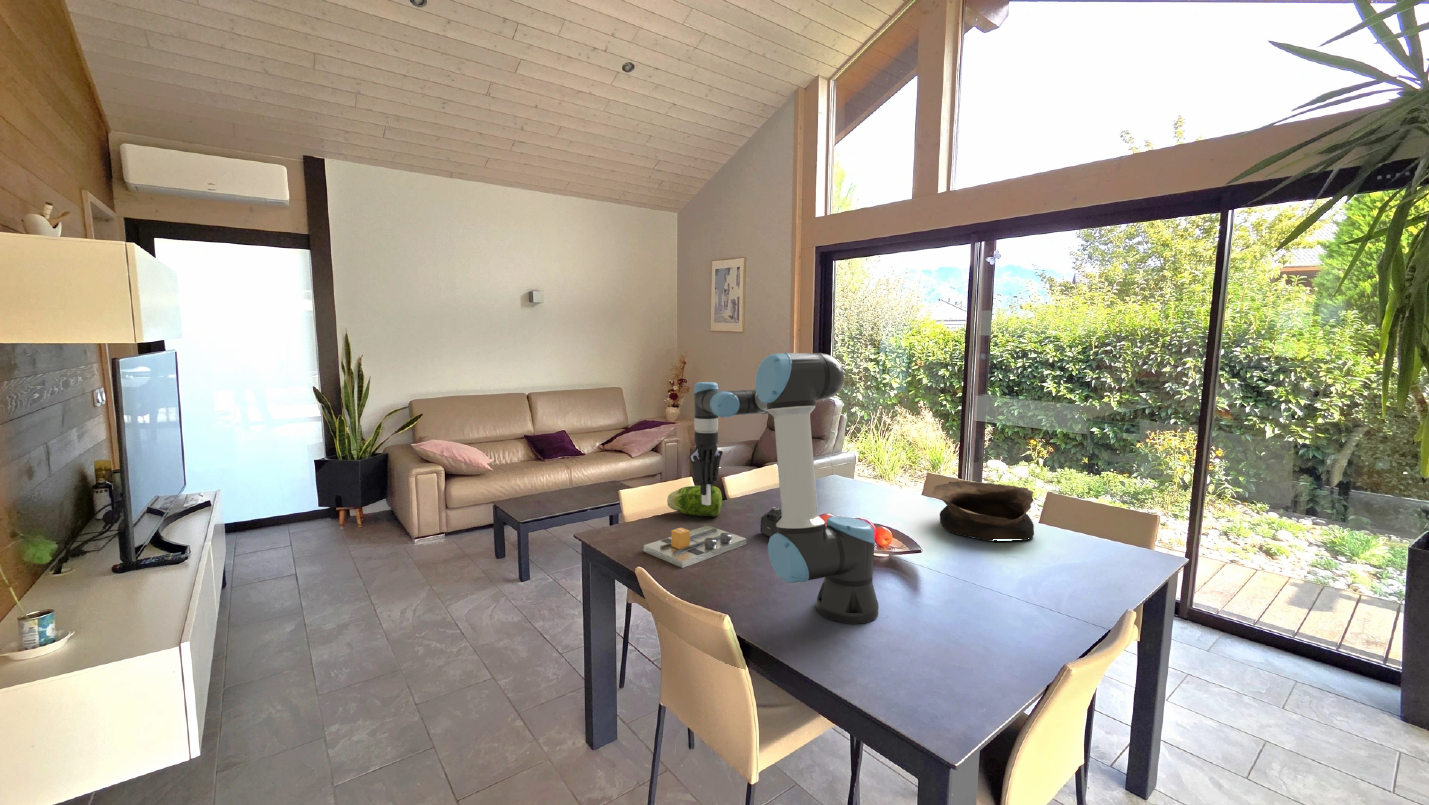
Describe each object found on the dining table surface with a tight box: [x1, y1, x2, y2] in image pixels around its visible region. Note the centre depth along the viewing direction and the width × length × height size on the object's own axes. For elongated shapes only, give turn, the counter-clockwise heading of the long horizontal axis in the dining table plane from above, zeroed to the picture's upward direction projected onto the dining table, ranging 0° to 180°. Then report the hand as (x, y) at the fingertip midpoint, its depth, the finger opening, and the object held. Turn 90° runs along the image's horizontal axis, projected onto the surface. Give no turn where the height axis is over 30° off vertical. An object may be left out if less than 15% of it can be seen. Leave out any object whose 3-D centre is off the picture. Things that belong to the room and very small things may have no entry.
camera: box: [759, 506, 782, 538], centre depth 204 cm, size 13×10×10 cm
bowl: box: [932, 480, 1035, 542], centre depth 214 cm, size 34×33×15 cm
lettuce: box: [666, 485, 723, 517], centre depth 227 cm, size 12×21×11 cm, turn 86°
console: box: [643, 524, 748, 569], centre depth 193 cm, size 18×28×4 cm, turn 135°
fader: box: [670, 527, 691, 549], centre depth 188 cm, size 4×4×5 cm
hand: (706, 504), depth 194 cm, fingers closed
